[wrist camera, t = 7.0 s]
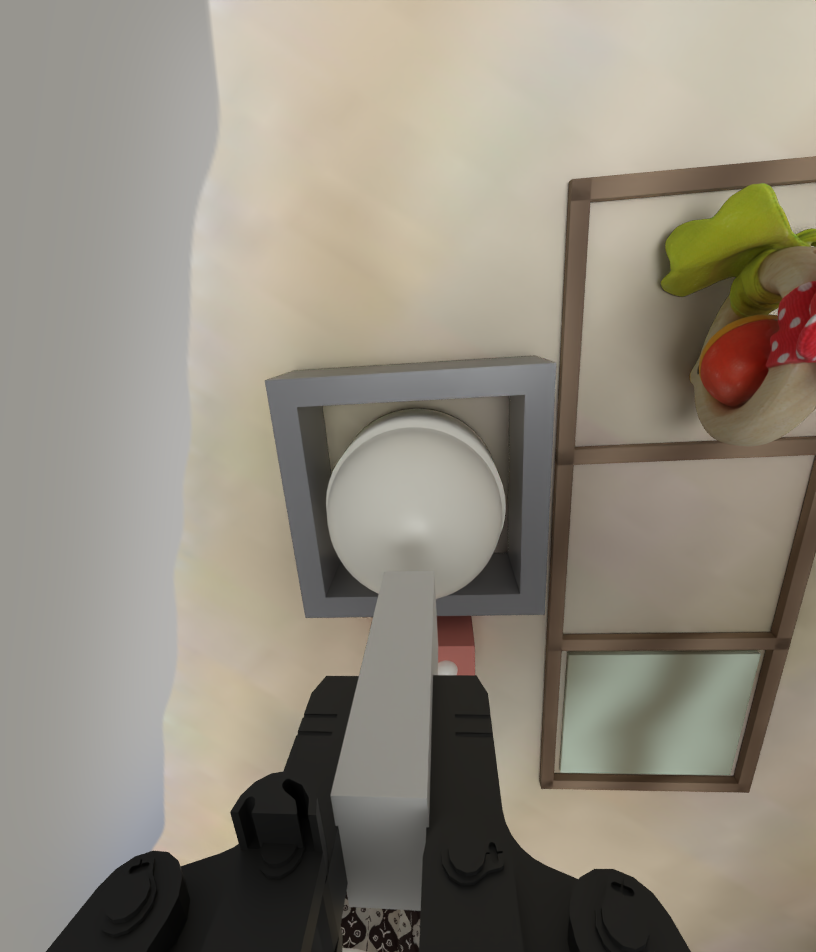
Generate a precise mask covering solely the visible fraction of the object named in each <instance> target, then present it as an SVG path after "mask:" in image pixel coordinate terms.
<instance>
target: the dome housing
mask: <svg viewBox="0 0 816 952" xmlns="http://www.w3.org/2000/svg"><path fill="white" fill-rule="evenodd" d="M555 380H556V363H555V362H552V361H549V360H546V359H544V358H541V357H538V356H521V357H505V358H489V359H473V360H456V361H440V362H424V363H408V364H392V365H376V366H359V367H343V368H327V369H311V370H295V371H291V372H288V373H285V374H282V375H279V376H276V377H273V378H270V379H267V380H265V385H266V391H267V396H268V402H269V408H270V414H271V420H272V426H273V431H274V437H275V443H276V449H277V455H278V461H279V466H280V472H281V478H282V484H283V490H284V495H285V501H286V507H287V513H288V519H289V525H290V530H291V536H292V542H293V548H294V554H295V560H296V565H297V571H298V577H299V583H300V589H301V594H302V600H303V606H304V612H305V618H335V617H373V616H374V612H375V607H376V603H377V599H378V595H379V594H378V593H376V592H374V591H372V590H370V589H369V588H367V587H366V586H364V585H363V584H361V583H360V582H359V581H358V580H357V579H355V578H354V577H353V576H352V575H351V574H350V573H349V571H348V570H347V569H346V568H345V566H344V565H343V563H342V562H341V560H340V559H339V557H338V555H337V553H336V551H335V549H334V547H333V544H332V541H331V538H330V534H329V529H328V523H327V510H326V496H327V489H328V484H329V480H330V478H331V469H330V461H329V454H328V446H327V438H326V431H325V423H324V416H323V408H322V406H328V405H346V404H364V403H383V402H401V401H419V400H438V399H456V398H474V397H493V396H510V398H509V482H508V553H493V554H492V556H491V558H490V560H489V562H488V563H487V565H486V566H485V567H484V569H483V570H482V571H481V572H480V573H479V574H478V575H477V576H476V577H475V578H474V579H473V580H472V581H471V582H470V583H468V584H467V585H466V586H464V587H463V588H461V589H460V590H458V591H456V592H454V593H452V594H450V595H447V596H445V597H441V598H438V599H436V613H437V633H438V675H475V646H474V637H473V628H472V619H471V616H483V615H545V597H546V575H547V554H548V532H549V510H550V489H551V467H552V445H553V424H554V402H555Z"/></svg>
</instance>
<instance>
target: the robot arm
mask: <svg viewBox="0 0 816 952" xmlns="http://www.w3.org/2000/svg"><path fill="white" fill-rule="evenodd" d="M230 813H231V817H232V820H233V824H234V827H235V831H236V835H237V838H238V842H239V844H238V845H236V846H235V847H233V848H231V849H229V850H227V851H225V852H222V853H220V854H217V855H214V856H211V857H208V858H205V859H202V860H199V861H196V862H193V863H190V864H187V865H184V866H181V867H180V864H179V861H178V860H177V859H176V858H175V857H173V856H172V855H171V854H170V853H169V852H161V851H151V852H148V853H145V854H141V855H139V856H135V857H134V858H132V859H131V860H129V861H128V862H126V863H125V864H123V865H121V866H120V867H119V868H117V869H116V870H115V871H114V872H113V873H112V874H111V875H110V876H109V877H108V878H107V879H106V880H105V881H104V882H103V883H102V884H101V885H100V886H99V887H98V888H97V889H96V890H95V892H94V893H93V894H92V895H91V897H90V898H89V899H88V900H87V902H86V903H85V904H84V905H83V906H82V908H81V909H80V910H79V911H78V913H77V914H76V915H75V916H74V918H73V919H72V920H71V921H70V922H69V924H68V925H67V926H66V928H65V929H64V930H63V931H62V932H61V934H60V935H59V936H58V937H57V939H56V940H55V941H54V942H53V943H52V945H51V946H50V947H49V948H48V950H47V951H46V952H342V940H343V935H342V930H341V920H342V914H343V908H344V902H345V897H346V891H347V897H348V903H349V907H361V908H379V909H397V910H416V911H421V913H420V938H419V952H691V951H690V949H689V948H688V946H687V944H686V943H685V941H684V939H683V937H682V936H681V934H680V932H679V930H678V929H677V927H676V925H675V924H674V922H673V920H672V918H671V917H670V915H669V914H668V912H667V911H666V910H665V908H664V907H663V906H662V904H661V903H660V902H659V901H658V899H657V898H656V897H655V895H654V894H653V893H652V892H651V891H650V890H648V889H647V888H646V887H645V886H643V885H642V884H641V883H640V882H638V881H637V880H636V879H635V878H634V877H631V876H629V875H626V874H624V873H622V872H619V871H617V870H614V869H594V870H592V871H590V872H589V873H587V874H585V875H583V876H581V877H580V878H579V879H576V878H574V877H572V876H569V875H567V874H565V873H562V872H560V871H558V870H555V869H553V868H550V867H548V866H546V865H544V864H542V863H541V862H539V861H537V860H535V859H534V858H532V857H531V856H530V855H529V854H528V853H527V852H525V851H524V850H523V849H522V848H521V847H520V846H519V844H518V843H517V842H516V840H515V839H514V838H513V836H512V835H511V833H510V831H509V829H508V827H507V825H506V822H505V819H504V814H503V810H502V803H501V795H500V787H499V779H498V771H497V763H496V755H495V747H494V740H493V732H492V724H491V717H490V708H489V700H488V693H487V691H486V690H485V688H484V687H483V685H482V684H481V682H480V680H479V679H478V677H477V676H476V675H438V633H437V613H436V594H435V574H434V571H390V572H384V574H383V578H382V582H381V586H380V591H379V595H378V599H377V603H376V607H375V612H374V616H373V620H372V624H371V628H370V632H369V637H368V641H367V645H366V649H365V653H364V657H363V662H362V666H361V670H360V674H359V676H326V677H325V678H324V679H323V681H322V682H321V683H320V684H319V685H318V686H317V688H316V689H315V690H314V691H313V692H312V693H311V696H310V699H309V702H308V705H307V707H306V710H305V713H304V718H303V719H302V721H301V724H300V727H299V730H298V735H297V736H296V738H295V741H294V744H293V746H292V749H291V752H290V755H289V758H288V760H287V763H286V766H285V769H284V771H283V772H278V773H272V774H270V775H268V776H266V777H264V778H262V779H260V780H258V781H256V782H255V783H253V784H252V785H251V786H250V787H249V788H248V789H247V790H246V791H245V792H244V793H243V794H242V795H241V796H240V797H239V799H238V801H237V802H236V804H235V805H234V807H233V809H232V810H231V812H230Z"/></svg>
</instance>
